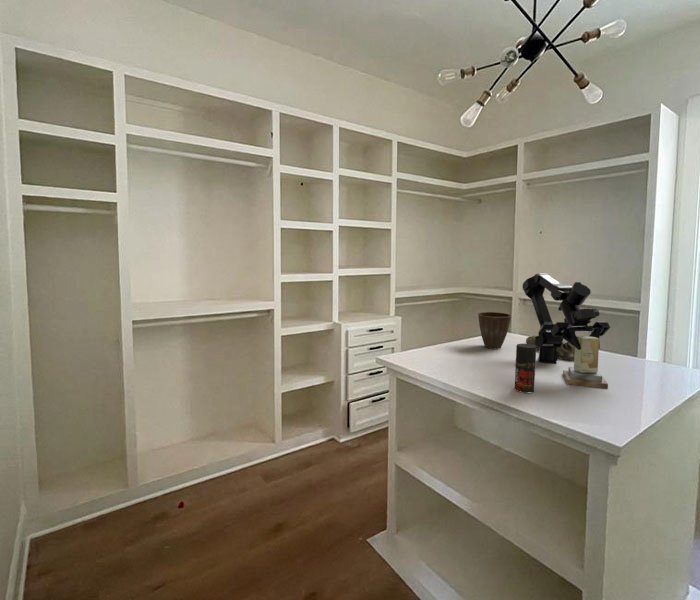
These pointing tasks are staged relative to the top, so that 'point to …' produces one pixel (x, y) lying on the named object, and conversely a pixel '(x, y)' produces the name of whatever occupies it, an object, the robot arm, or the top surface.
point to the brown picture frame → (584, 378)
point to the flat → (564, 352)
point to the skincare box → (587, 355)
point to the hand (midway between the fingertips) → (589, 349)
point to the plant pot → (494, 328)
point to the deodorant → (525, 367)
